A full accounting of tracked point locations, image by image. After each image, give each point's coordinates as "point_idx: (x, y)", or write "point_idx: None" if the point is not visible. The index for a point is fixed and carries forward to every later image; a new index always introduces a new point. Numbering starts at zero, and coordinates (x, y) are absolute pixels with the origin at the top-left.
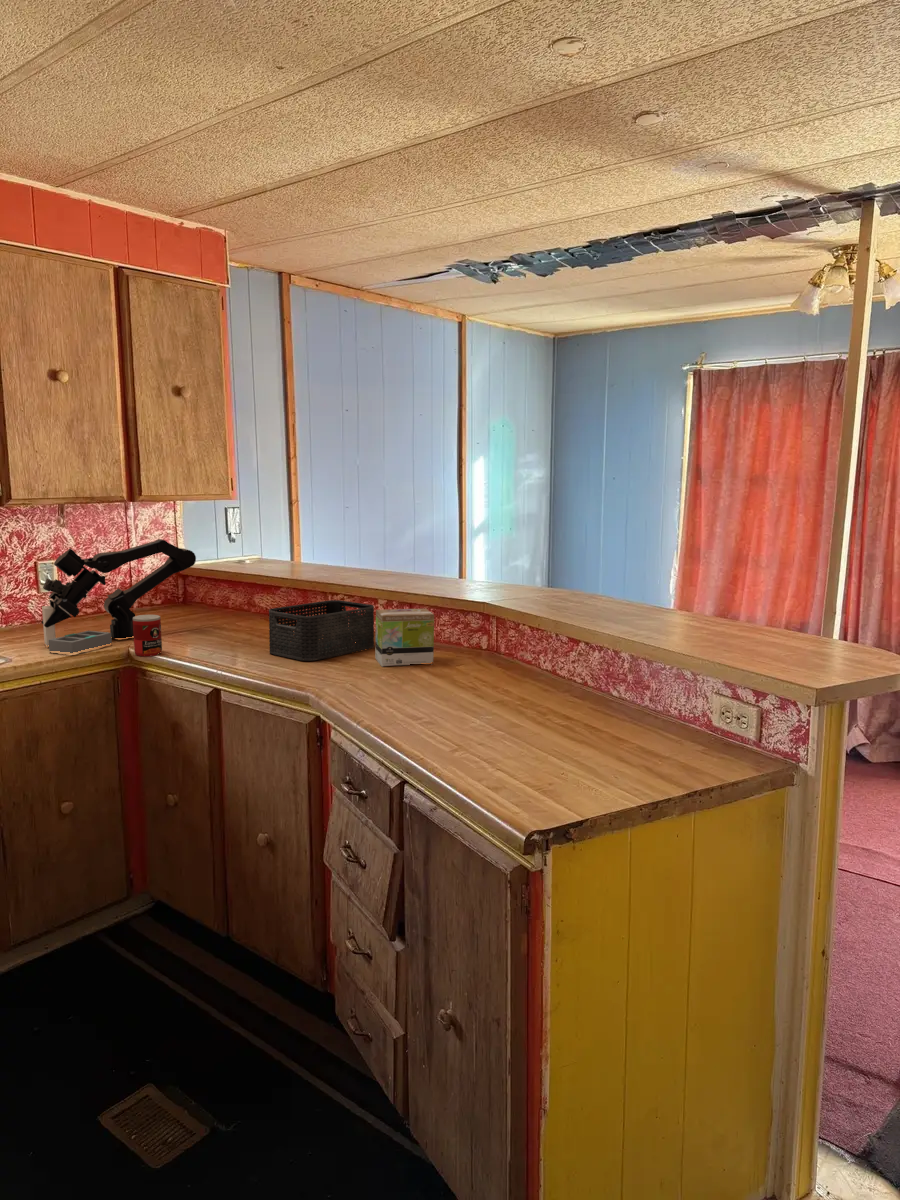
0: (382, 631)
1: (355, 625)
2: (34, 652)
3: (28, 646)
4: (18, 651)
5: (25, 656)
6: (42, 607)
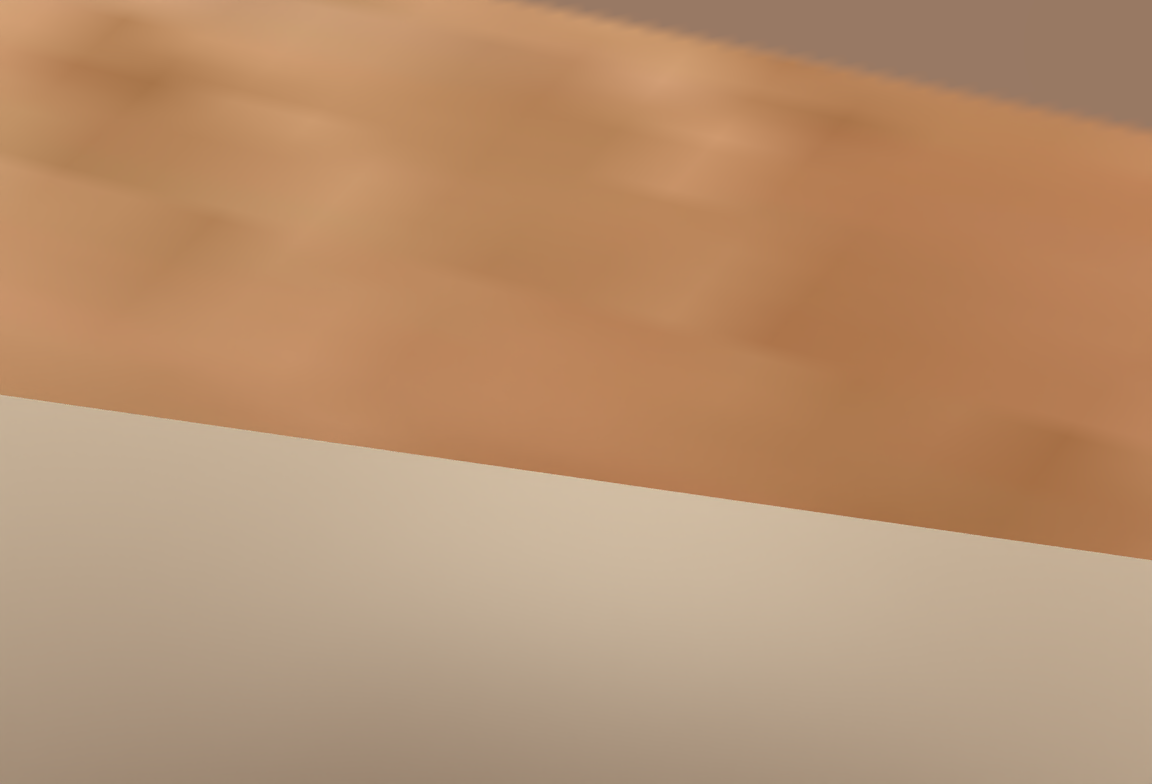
0: None
1: None
2: (222, 312)
3: (858, 375)
4: (507, 128)
5: (15, 116)
6: (1028, 552)
